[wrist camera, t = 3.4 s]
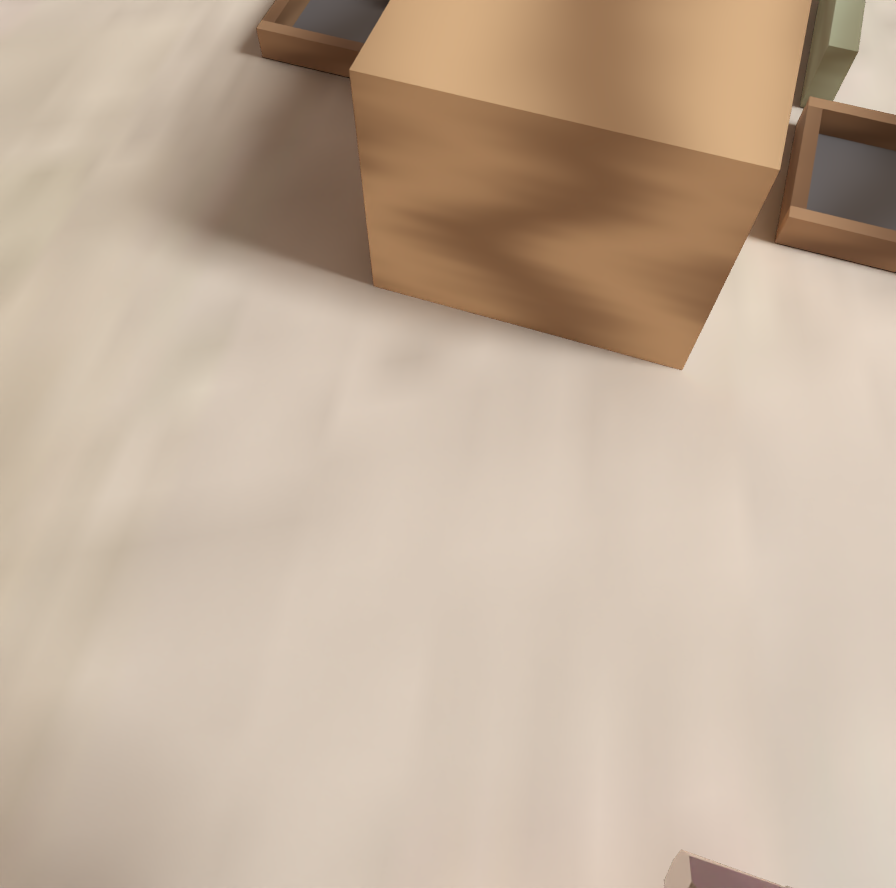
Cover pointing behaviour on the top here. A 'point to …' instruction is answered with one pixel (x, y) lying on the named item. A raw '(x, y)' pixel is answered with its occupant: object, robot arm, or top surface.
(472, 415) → the top surface
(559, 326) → the block
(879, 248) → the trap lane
